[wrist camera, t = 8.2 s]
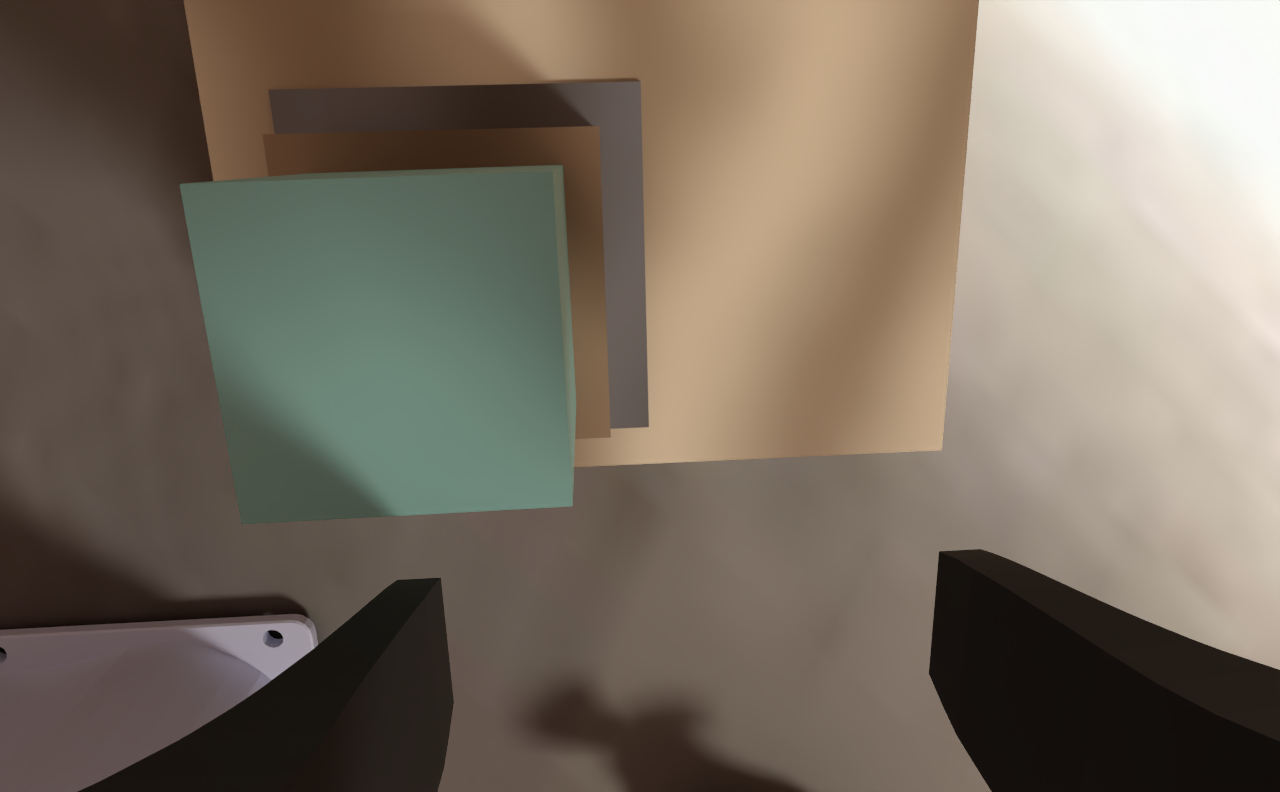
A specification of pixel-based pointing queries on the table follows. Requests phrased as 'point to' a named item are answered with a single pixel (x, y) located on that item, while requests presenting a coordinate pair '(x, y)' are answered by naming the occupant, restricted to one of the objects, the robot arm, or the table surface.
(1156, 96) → the table surface
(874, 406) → the board
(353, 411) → the teal block
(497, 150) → the walnut base block
